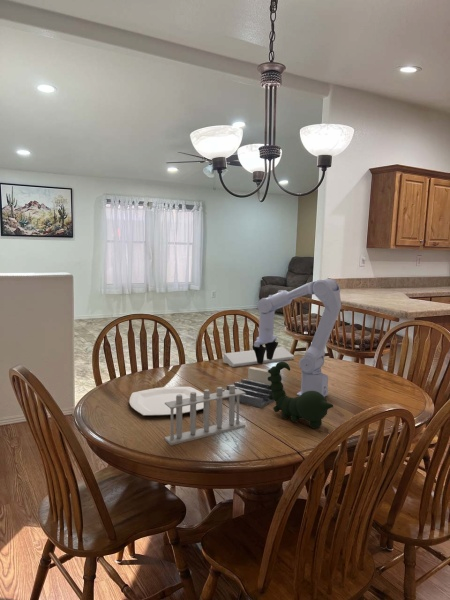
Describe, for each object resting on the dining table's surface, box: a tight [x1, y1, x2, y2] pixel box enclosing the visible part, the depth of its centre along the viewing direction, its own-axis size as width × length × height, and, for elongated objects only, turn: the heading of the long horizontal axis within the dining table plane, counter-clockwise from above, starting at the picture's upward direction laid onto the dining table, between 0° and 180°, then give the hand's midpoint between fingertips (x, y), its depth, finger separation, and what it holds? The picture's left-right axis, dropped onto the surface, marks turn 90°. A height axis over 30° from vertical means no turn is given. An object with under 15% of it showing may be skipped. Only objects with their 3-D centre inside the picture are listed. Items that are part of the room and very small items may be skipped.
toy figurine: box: [267, 361, 334, 429], centre depth 135 cm, size 9×19×25 cm
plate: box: [128, 386, 204, 417], centre depth 150 cm, size 27×27×2 cm
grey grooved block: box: [222, 378, 274, 409], centre depth 158 cm, size 18×16×3 cm
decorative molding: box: [222, 346, 295, 368], centre depth 208 cm, size 34×5×10 cm
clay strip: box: [247, 366, 283, 385], centre depth 172 cm, size 14×2×6 cm, turn 55°
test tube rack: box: [164, 384, 246, 446], centre depth 126 cm, size 25×4×13 cm, turn 121°
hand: (264, 361), depth 171 cm, fingers open, 7 cm apart
